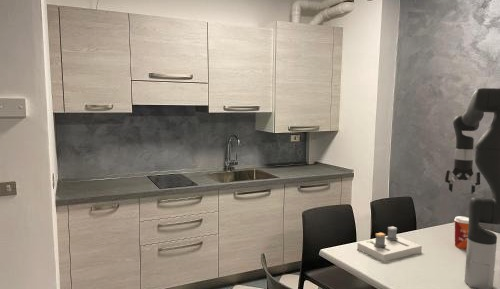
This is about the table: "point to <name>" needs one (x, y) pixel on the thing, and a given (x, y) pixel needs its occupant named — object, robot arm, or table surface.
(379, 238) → the orange and grey block
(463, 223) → the paper cup
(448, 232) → the table surface
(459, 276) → the table surface
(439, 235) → the table surface
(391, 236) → the on lever
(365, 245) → the switch box
